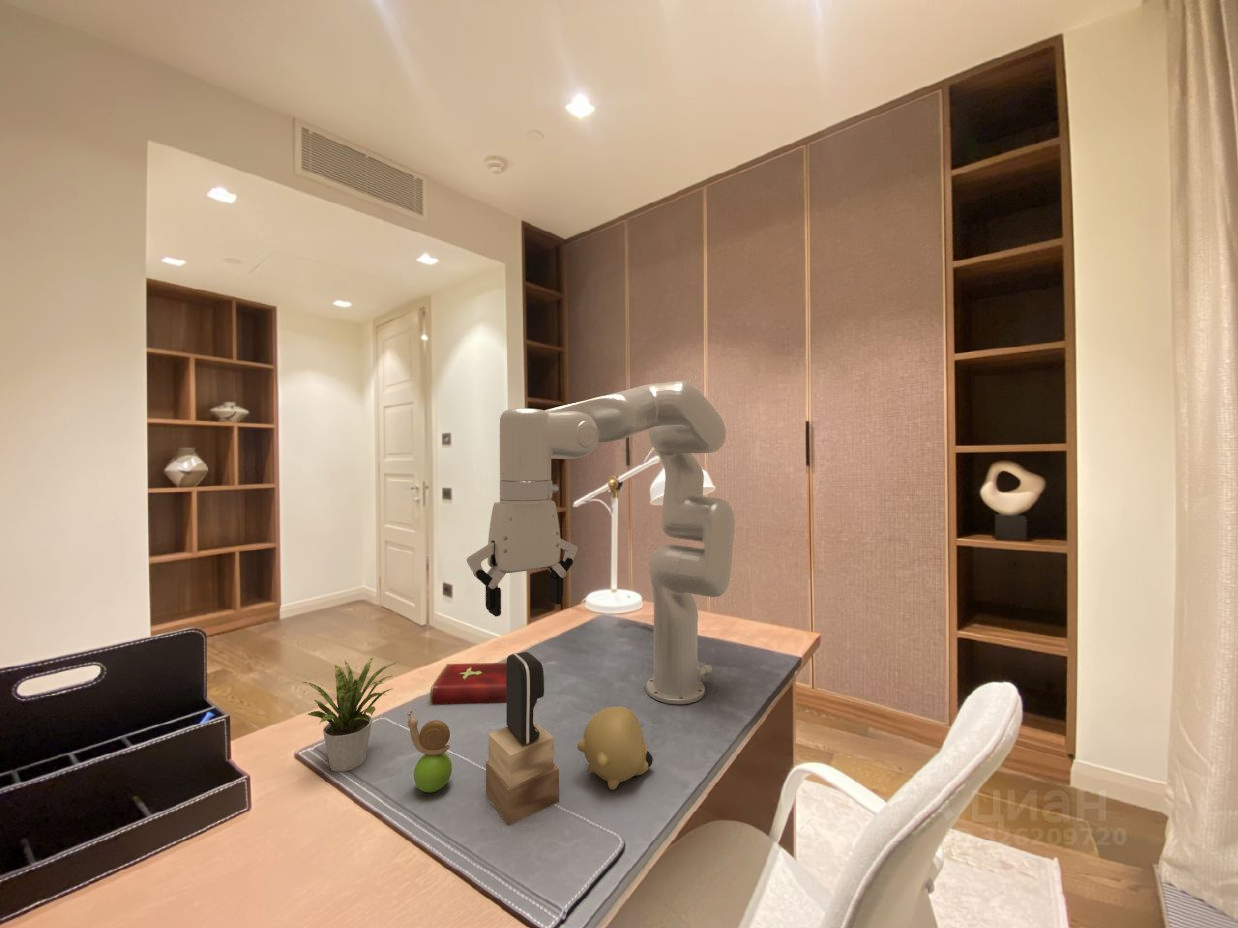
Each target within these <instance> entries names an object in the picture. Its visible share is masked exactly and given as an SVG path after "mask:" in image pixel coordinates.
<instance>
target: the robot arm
mask: <svg viewBox="0 0 1238 928" xmlns="http://www.w3.org/2000/svg"><path fill="white" fill-rule="evenodd" d="M499 417H500V418H499V501H498V502H494V503H493V506H492V509H491V516H490V523H489V530H488V539H487V540H488V542H487V544H486V545H485V546H483V547H482V548H480V549H479V550H477V551H476V552H474V553H472V554H471V555H470V556H468V557H467V558H466V563H467V564H468V566H469V568H470V570H471V572H472V575H473V576H474V577H475V578H476V579H477V580H479V581H480V583H482V584H483V585H484V586H485V608H486V610H487V611H488V613H490V614H491V615H493V616H494V617H496V618H497V617H500V616H501V615H502V589H501V587H499V584H500V583H501V581H502V579H503V578H504V577H505V575H506V574H513V573H521V572H528V571H533V570H535V571H536V570H541V569H542V570H543V569H548V571H550V574H548V577H547V600H548V601H549V602H551V603H554V604H556V605H557V606H558V605H562V597H563V595H564V578H565V577H566V576H567V572H568V571H569V569H571V567H572V566H573V564H574V559H575V557H576V555H577V552H578V551H579V548H578V546H577V545H575V544H573V543H571V542H569V541H567V540H565V539H563V538H561V532H560V531H561V530H560V522H559V515H558V509H557V506H556V502H555V501H554V500H552V498H553V494H554V493H558V492H559V484H557V483H555V484H554V483H553V480H552V459H553V460H554V459H559V460H561V459H562V460H575V459H581V458H584V457H587V456H588V455H590V454H591V453H592V452H594V451H595V450H596V448H597V446H598V443H599V444H600V443H609V442H615V441H622V440H624V439H628V438H630V437H632V436H634V435H638V434H640V433H642V432H644V431H646V430H648V437H649V442H650V443H651V445H652V447H653V449H654V450H655V452H656V453H657V455H658V456H659V458H660V460H661V461H660V462H661V463H662V465H663V469H664V475H665V477H664V479H665V480H664V490H663V491H664V492H663V499H662V507H661V508H662V510H661V529H662V531H663V533H664V534H665V535H666V536H667V537H670V538H672V539H673V538H674V539H677V540H684V541H693V542H701V543H703V548H700V547H693V546H688V545H687V546H686V545H679V544H665V545H664V544H663V545H660V546H658V547H657V548H656V549H654V551H653V552H652V553H651V555H650V557H649V558H650V559H649V563H648V569H649V577H650V583H651V588H652V597H653V654H652V655H653V667H652V668H653V672H652V673H653V674H652V675H653V676H652V677H651V678H649V679H648V681H647V682H646V685H645V686H646V687H645V689H646V693H647V694H648V696H650V697H651V698H652V699H654V700H656V701H658V702H661V703H665V704H668V705H669V704H671V705H687V704H693V703H695V702H698V701H699V700H701V699H703V697H704V695H705V691H706V690H705V685H704V684H703V682H702V680H701V679H703V678H704V676H705V677H706V676H708V675H712V674H713V667H712V666H711V665H709V664H706V665H703V666H702V667H700V665H699V664H698V641H699V640H698V636H699V635H698V625H699V623H698V621H699V611H698V606H697V604H696V601H695V599H694V597H693V594H694V595H698V596H701V597H703V596H704V597H709V598H710V597H711V598H719V597H720V596H722V595H724V594H725V593H726V591H727V590H728V588H729V585H730V579H731V573H732V561H733V553H734V538H735V526H736V525H735V514H734V511H733V508H732V506H731V505H730V503H729V502H728V501H726V500H725V499H723V498H719V497H711V496H710V497H708V496H704V483H705V482H704V481H705V475H704V471H703V469H702V467H701V464H700V463H699V461H698V459H697V458H696V457H695V455H694V454H712V453H715V452H718V451H719V450H720V449H721V448H722V447H723V446H724V443H725V441H726V437H727V436H726V435H727V434H726V433H727V430H726V426H725V423H724V421H723V418H722V416H721V415H720V413H719V412H718V411H717V409H716V408H715V407H714V406H713V405H712V403H711V402H710V401H709V400H708V399H707V398H706V396H705V395H704V393H702V391H700V390H699V389H698V388H697V387H696V386H695V385H693V384H691V383H690V382H688V381H686V380H676V381H675V380H674V381H666V382H658V383H656V382H655V383H649V384H644V385H640V386H635V387H632V388H629V389H626V390H625V389H624V390H621V391H618V392H614V393H611V394H606V395H601V396H597V397H594V398H589V399H586V400H582V401H578V402H575V403H574V402H573V403H569V404H566V405H565V404H564V405H561V406H557V407H553V408H548V409H545V410H543V409H539V408H538V409H537V408H527V407H526V408H523V407H521V408H509V409H506V410H504V411H502V413H501V415H500V416H499ZM561 549H562V550H564V556H563V557H562V558H561ZM485 560H487V564H488V566H489V567H490V569H488V571H487V572H486V571H485V570H484V569H483V566H482V562H483V561H485Z"/></svg>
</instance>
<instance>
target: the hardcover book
mask: <svg viewBox="0 0 1238 928" xmlns="http://www.w3.org/2000/svg"><path fill="white" fill-rule="evenodd" d="M506 663H507V662H481V663H479V662H477V663H476V662H475V663H474V662H473V663H447V664H446V665H445V666H444V668H443V669H442V670H441V672H440V674H439V675H438V676H437V678H436V679H435V681H434V682H433V684H432V685H431V687H430V693H429V694H430V697H429V698H430V699H429V700H430V703H429V704H430V706H433V705H434V706H435V705H436V706H437V705H438V706H440V705H472V704H473V705H474V704H477V705H479V704H480V705H481V704H504V703H505V704H507V703H506Z"/></svg>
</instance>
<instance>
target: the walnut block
mask: <svg viewBox="0 0 1238 928" xmlns="http://www.w3.org/2000/svg"><path fill="white" fill-rule="evenodd" d="M485 795H486V796H487V798H488V799H489V801H490V802H491V804H492V805H493V806H494V808H495V809H496V810H497V812H498V813H499V815H500V816H501V817H502V819H503V820H504V822H505V824H506V825H507V826H508V827H509V826H511V825H513V824H515V823H517V822H520V821H521V820H524V819H525V818H528V817H530V816H532V815H534V814H536V813H538V812H541V811H543V810H544V809H547V808H549V807H551V806H553V805H555V804H558V803H559V802H560V768H559V767H558V766H557V764H555V763H554V768H553V769H550V770H548V771H546V772H544V773H542V774H540V775H537V776H535V777H533V778H531V779H529V780H527V781H524V782H522V783H520V784H518V785H516V786H514V787H511V788H510V787H509V786H508V785H507V784H506V783H505V782H504V781H503V779H502V778H501V777H500V776H499V775H498V774H497V773H496V772H495V771H494V769H493V768H492V767H491V766H490V765H489V764H488V760H487V761H485Z"/></svg>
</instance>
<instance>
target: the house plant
mask: <svg viewBox="0 0 1238 928" xmlns="http://www.w3.org/2000/svg"><path fill="white" fill-rule="evenodd" d="M372 661H373V657H371V658H370V659H369V660H368V661H367V663H366V664H365V665H364V667H363V669H362V671H361V673H360V674H359V678H355V679H354V672H353V671H352V668H351V666H350V665H349V663H348V662H347V661H346V660H344V664H345V665H344V666H345V668H346V671H347V676H346V674H345V671H344V669H342V668H341V667H340V666H339V665H338V664H334V674H335V675H334V677H335V684H336V686H335V687H336V688H335V689H336V704H337V705H336V704H335V702H334V701H333V700H332V697H331V696H329V694H328V692H326V691H325V690H324V689H323V688H321V687H320V686H318V685H317V684H314V683H311V682H309V681H301V683H304V684H306V685H308V686H310V687H312V688H313V689H314V690H316V691H317V693H316V695H318V696H321V697H323V698H324V700H325V701H326V702H327V703H328V704H329V706H331V708H332V709H333V710H334V711H332V709H330V708H329V707H328V706H327V705H326V704H324V703H323V702H322V701H320V700H318V699H314V702H315V703H316V704H317V706H318V707H319V709H320V710H321V711H320V710H315V711H311V712H309V713H307V714H306V716H307V715H308V716H311V717H317V718H319V719H321V720H320V721H319V723H318V725H320V724H322V723H324V722H328V723H327V724H326V725H325V726H324V727H323V729H322V732H323V738H324V743H325V747H326V748H325V749H326V753H327V759H328V764H329V768H331V769H330V770H331V771H333V772H347V771H351V770H355V769H356V768H358V767H359V766H361V765H362V764H364V763H365V761H366V757H367V751H368V747H369V746H368V745H369V741H370V735H371V734H370V733H371V728H372V724H373V723H372V722H373V719H372V717H373V714H374V713H375V711H376V707H375V706H374V704H375V703H376V702H377V700H379V698H381V697H382V696H383V695H384V696H386V693H387V692H389V691H392V690H393V689H394V687H393V688H389V689H386V690H383V691H382V692H374V690H375V689H376V688H377V687H378V686H379V685H381V684H384V683H383V681H384V680H386V679H389V678H391V677H392V675H388V676H387V675H386V676H384V677H382V678H381V679H379V680H378V681H374V680H375V679H376V678H377V677H378V676H379V675H380V674H381V673H382V672H383V671H384V670H386V669H387V668H389V667H391V666H395V665H397V662H394V663H390V664H386V665H384V666H383V667H381V668H380V669H378V670H377V671H375V672H374V673H373V675H371V677H370V678H369V679H368V681H367V683H366V684H365V681H366V678H367V676H368V674H369V671H370V669H371V666H372V665H371V663H372ZM364 684H365V686H364ZM371 685H373V687H371V689H370V691H369V693H368V694H367V696H366V697H365V698H364V699H363V696H364V694H365V693H366V691H368V689H369V687H370V686H371ZM363 686H364V688H363ZM374 697H375V698H374ZM373 698H374V699H373ZM362 699H363V700H362ZM371 699H373V700H372V701H371V702H370V703H369V705H368V707H366V708H365V709H364V710H362V709H363V708H364V706H365V705H366V704H367V703H368V702H369V701H370V700H371ZM361 700H362V701H361ZM360 702H361V703H360ZM335 712H336V713H335ZM367 713H368V714H370V715H368V714H367Z"/></svg>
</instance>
